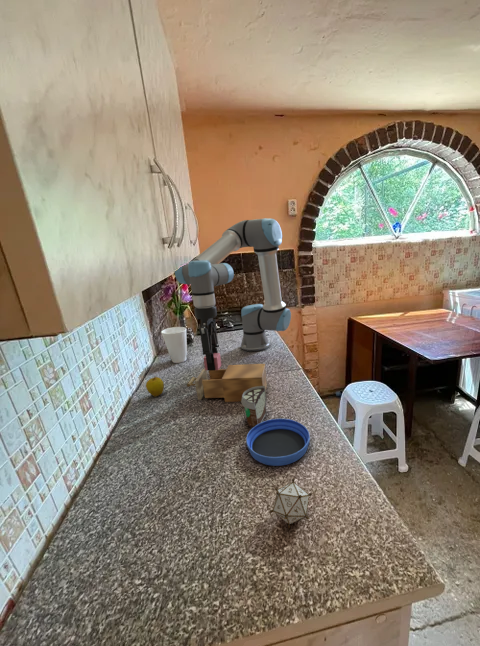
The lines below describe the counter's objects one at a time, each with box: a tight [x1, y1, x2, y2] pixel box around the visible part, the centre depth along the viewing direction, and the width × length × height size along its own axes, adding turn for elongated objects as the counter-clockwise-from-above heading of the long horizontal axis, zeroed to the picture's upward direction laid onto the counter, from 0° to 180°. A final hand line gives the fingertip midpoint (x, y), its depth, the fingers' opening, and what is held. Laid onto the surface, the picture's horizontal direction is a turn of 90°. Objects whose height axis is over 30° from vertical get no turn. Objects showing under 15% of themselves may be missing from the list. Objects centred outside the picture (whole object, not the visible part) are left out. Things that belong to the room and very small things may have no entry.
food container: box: [240, 386, 267, 429], centre depth 101 cm, size 12×6×10 cm, turn 168°
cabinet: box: [222, 363, 268, 403], centre depth 119 cm, size 15×13×10 cm
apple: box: [145, 376, 165, 398], centre depth 121 cm, size 6×6×8 cm
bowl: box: [245, 418, 311, 467], centre depth 89 cm, size 18×18×4 cm
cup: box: [161, 326, 188, 364], centre depth 155 cm, size 12×12×16 cm
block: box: [202, 352, 222, 371], centre depth 116 cm, size 5×5×5 cm
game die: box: [268, 477, 314, 530], centre depth 65 cm, size 9×8×10 cm
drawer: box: [186, 368, 227, 401], centre depth 119 cm, size 18×11×8 cm, turn 89°
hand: (213, 366), depth 117 cm, fingers closed on block, 5 cm apart
